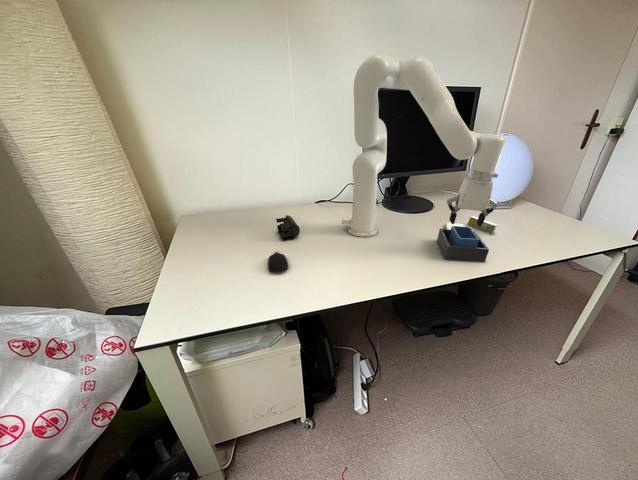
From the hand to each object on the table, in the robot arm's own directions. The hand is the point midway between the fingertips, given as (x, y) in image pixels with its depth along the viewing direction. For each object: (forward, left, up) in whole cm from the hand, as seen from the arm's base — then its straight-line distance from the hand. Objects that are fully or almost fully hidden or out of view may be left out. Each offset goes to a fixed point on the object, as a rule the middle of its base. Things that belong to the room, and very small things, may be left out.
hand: (465, 223), depth 100 cm
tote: (+1, 0, -11) cm, 11 cm away
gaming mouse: (-65, -19, -11) cm, 69 cm away
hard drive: (+4, +17, -11) cm, 21 cm away
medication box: (+16, +22, -11) cm, 30 cm away
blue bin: (+1, 0, -10) cm, 10 cm away
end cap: (-67, +3, -11) cm, 68 cm away
